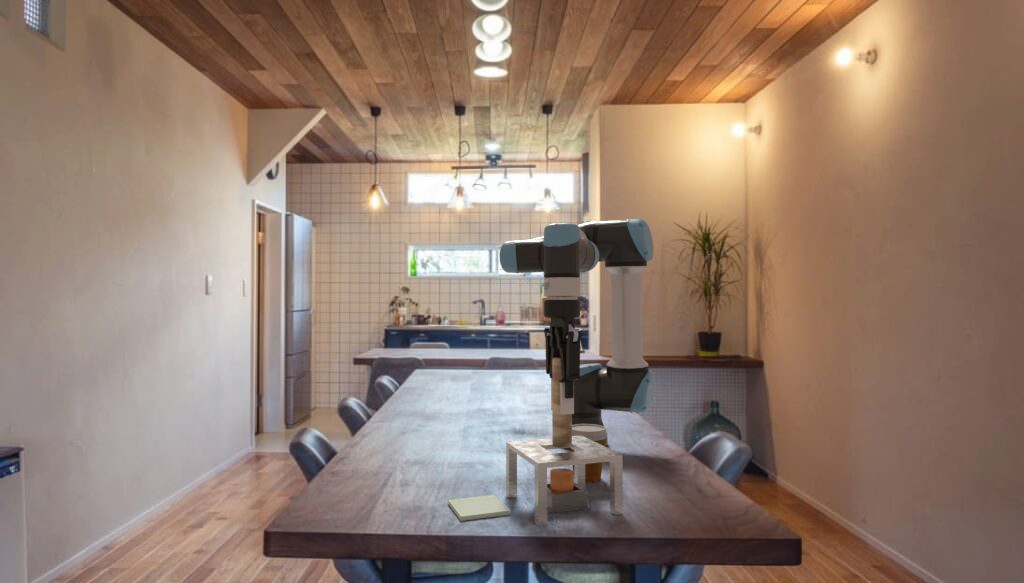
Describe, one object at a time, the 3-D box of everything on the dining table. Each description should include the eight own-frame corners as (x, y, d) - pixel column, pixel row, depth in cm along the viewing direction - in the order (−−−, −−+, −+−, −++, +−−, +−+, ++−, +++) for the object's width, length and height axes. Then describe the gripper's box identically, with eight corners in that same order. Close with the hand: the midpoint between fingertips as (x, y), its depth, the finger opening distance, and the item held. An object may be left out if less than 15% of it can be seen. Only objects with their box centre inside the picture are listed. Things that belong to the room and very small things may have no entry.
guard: (581, 486, 134) (581, 435, 134) (622, 513, 117) (622, 454, 117) (506, 495, 128) (506, 441, 128) (538, 525, 111) (538, 463, 111)
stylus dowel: (566, 442, 126) (566, 356, 126) (575, 446, 122) (574, 358, 122) (549, 443, 124) (549, 357, 124) (557, 448, 120) (557, 359, 121)
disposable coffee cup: (610, 475, 143) (610, 425, 143) (603, 486, 134) (603, 433, 134) (572, 471, 146) (572, 422, 146) (562, 482, 137) (562, 430, 137)
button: (567, 496, 126) (567, 467, 126) (577, 503, 121) (577, 473, 121) (546, 498, 124) (546, 469, 124) (556, 506, 120) (556, 476, 120)
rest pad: (494, 498, 126) (494, 494, 126) (510, 514, 117) (510, 510, 117) (448, 503, 123) (448, 500, 123) (460, 520, 113) (460, 516, 113)
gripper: (529, 298, 130) (530, 405, 130) (562, 299, 114) (563, 421, 114) (561, 298, 133) (561, 403, 132) (597, 298, 117) (598, 418, 116)
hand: (562, 411), depth 123 cm, fingers closed on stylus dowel, 4 cm apart
